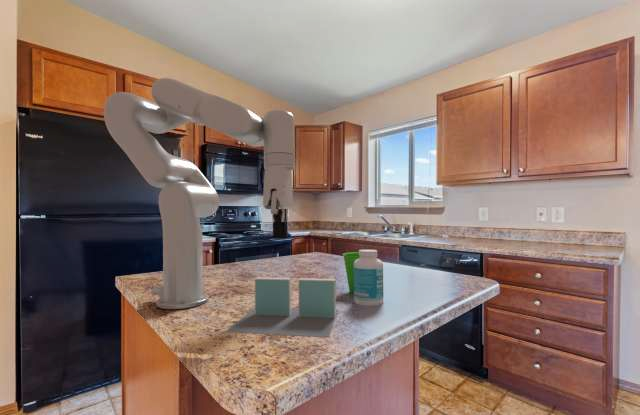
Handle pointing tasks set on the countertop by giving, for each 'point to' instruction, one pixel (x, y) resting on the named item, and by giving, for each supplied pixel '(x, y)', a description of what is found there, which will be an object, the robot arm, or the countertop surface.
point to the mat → (284, 324)
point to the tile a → (273, 296)
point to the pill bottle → (368, 279)
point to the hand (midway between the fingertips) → (280, 238)
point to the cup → (350, 268)
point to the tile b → (317, 297)
